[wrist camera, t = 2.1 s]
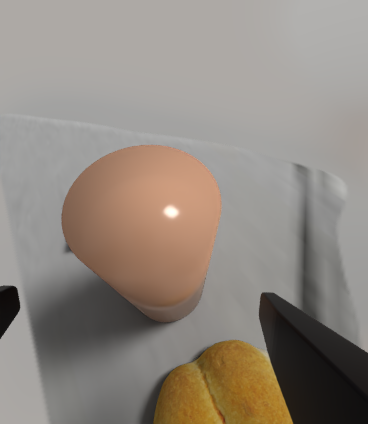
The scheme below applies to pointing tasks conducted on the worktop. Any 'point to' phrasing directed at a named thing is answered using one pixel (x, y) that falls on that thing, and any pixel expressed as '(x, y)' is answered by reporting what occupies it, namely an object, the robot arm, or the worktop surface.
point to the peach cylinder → (146, 226)
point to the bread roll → (223, 389)
